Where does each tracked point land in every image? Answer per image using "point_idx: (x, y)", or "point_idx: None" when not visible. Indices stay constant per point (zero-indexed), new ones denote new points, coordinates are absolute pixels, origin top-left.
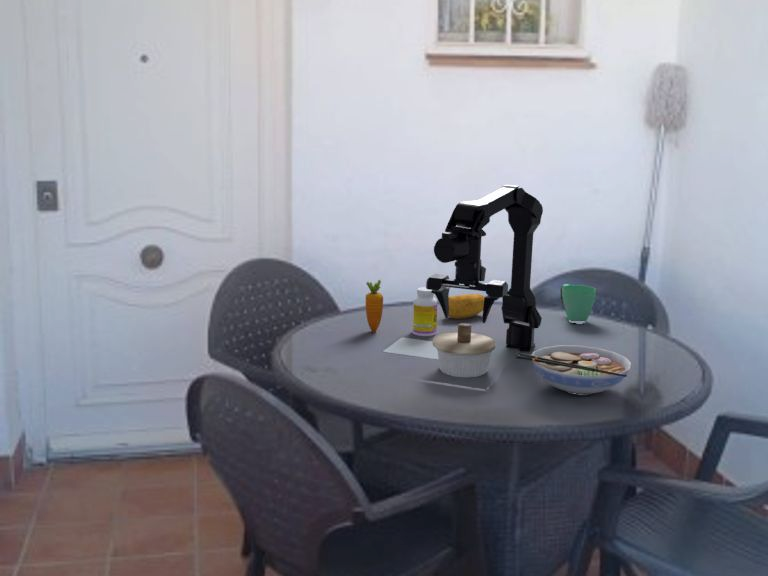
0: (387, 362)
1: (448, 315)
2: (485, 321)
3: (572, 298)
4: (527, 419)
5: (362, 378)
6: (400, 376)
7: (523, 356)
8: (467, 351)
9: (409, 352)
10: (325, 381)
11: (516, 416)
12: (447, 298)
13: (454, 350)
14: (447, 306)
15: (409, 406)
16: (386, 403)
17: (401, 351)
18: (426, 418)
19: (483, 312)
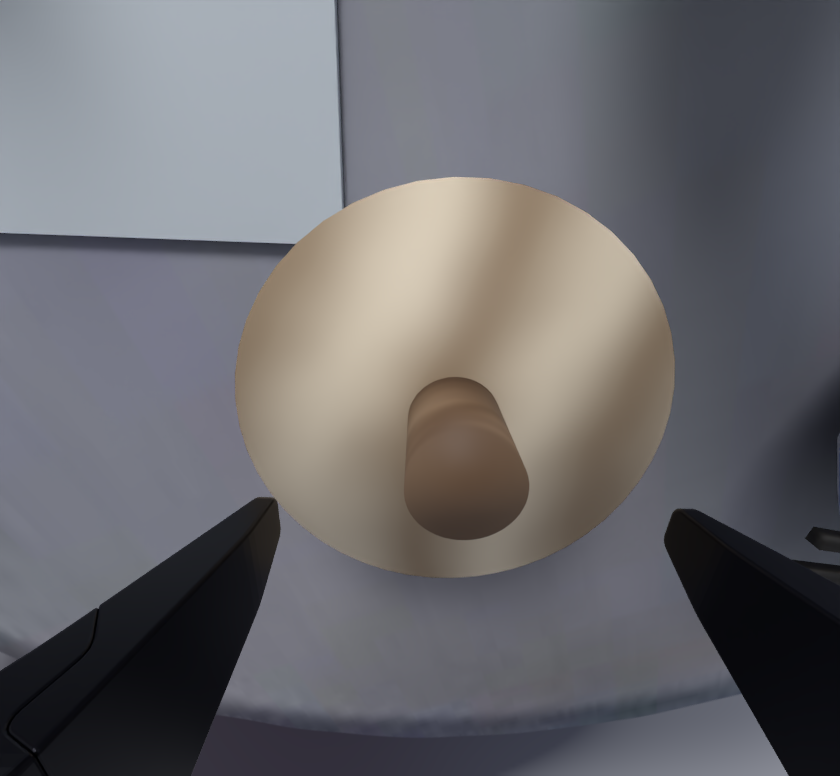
0: (81, 357)
1: (268, 515)
2: (698, 517)
3: None
4: (701, 655)
5: (127, 552)
6: (231, 492)
7: (833, 580)
8: (511, 564)
9: (78, 181)
10: (49, 609)
11: (671, 649)
12: (93, 772)
13: (439, 573)
14: (207, 639)
15: (374, 677)
16: (309, 679)
17: (29, 180)
18: (442, 716)
19: (759, 712)
